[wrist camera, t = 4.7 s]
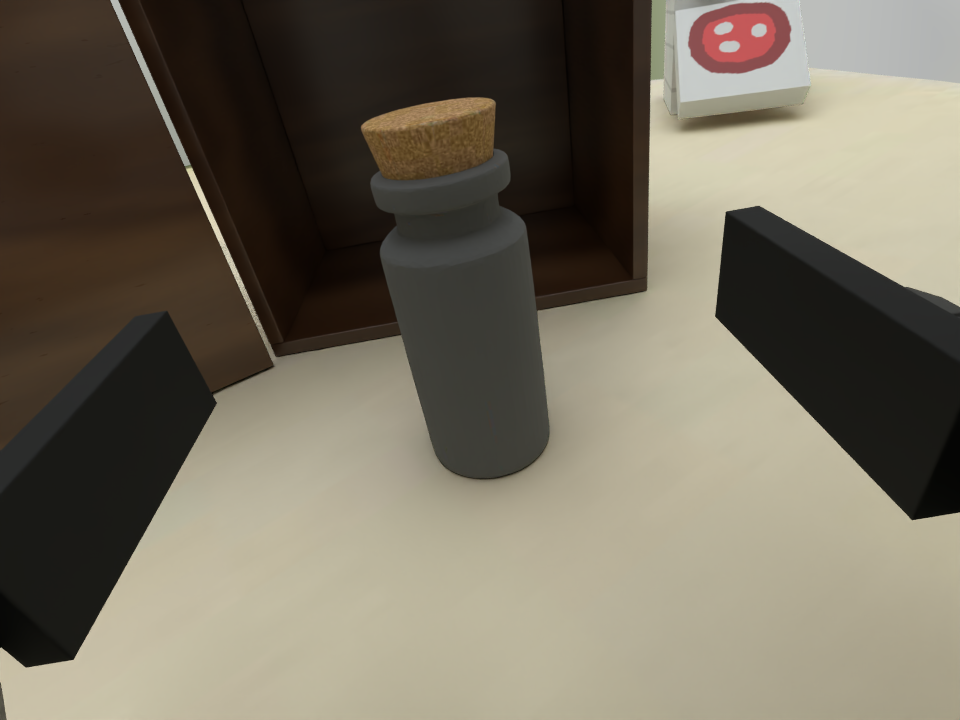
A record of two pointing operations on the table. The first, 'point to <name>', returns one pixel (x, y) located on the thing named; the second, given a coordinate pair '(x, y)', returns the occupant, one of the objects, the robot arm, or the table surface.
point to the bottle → (461, 284)
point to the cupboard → (389, 87)
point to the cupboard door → (97, 213)
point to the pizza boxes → (733, 56)
